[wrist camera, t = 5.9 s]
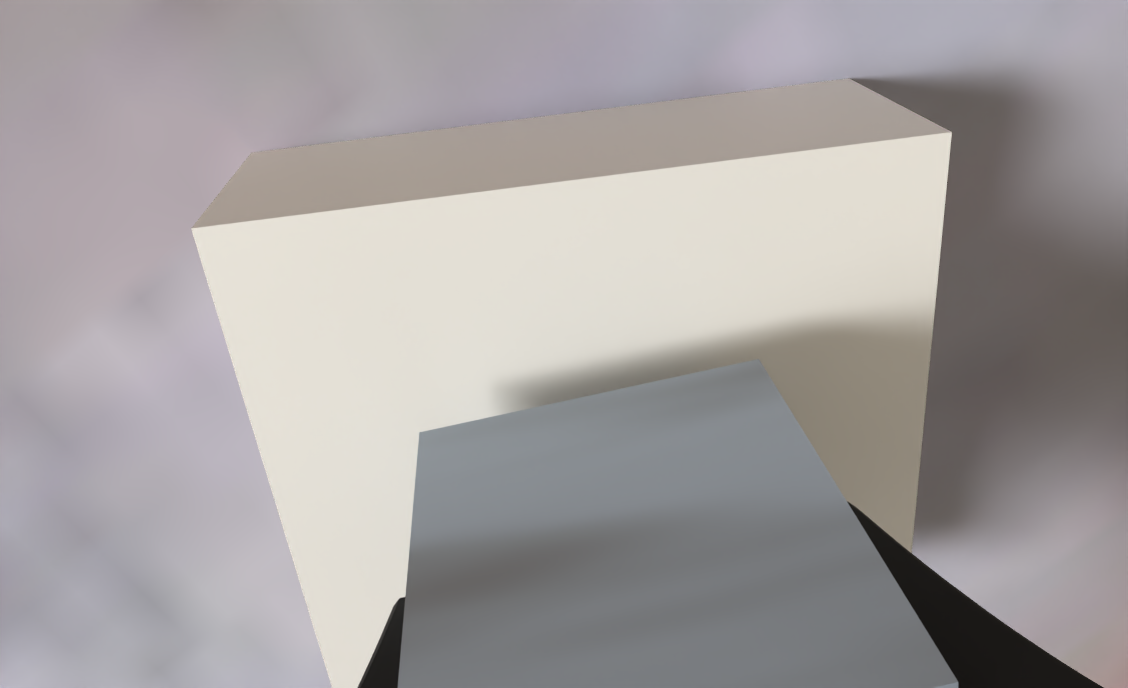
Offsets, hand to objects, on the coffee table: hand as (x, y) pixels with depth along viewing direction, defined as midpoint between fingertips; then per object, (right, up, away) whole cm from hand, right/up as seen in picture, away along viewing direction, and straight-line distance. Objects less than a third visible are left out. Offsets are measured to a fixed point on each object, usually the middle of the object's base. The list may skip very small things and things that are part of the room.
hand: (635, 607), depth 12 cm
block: (0, +1, +1) cm, 2 cm away
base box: (-1, +3, +6) cm, 7 cm away
